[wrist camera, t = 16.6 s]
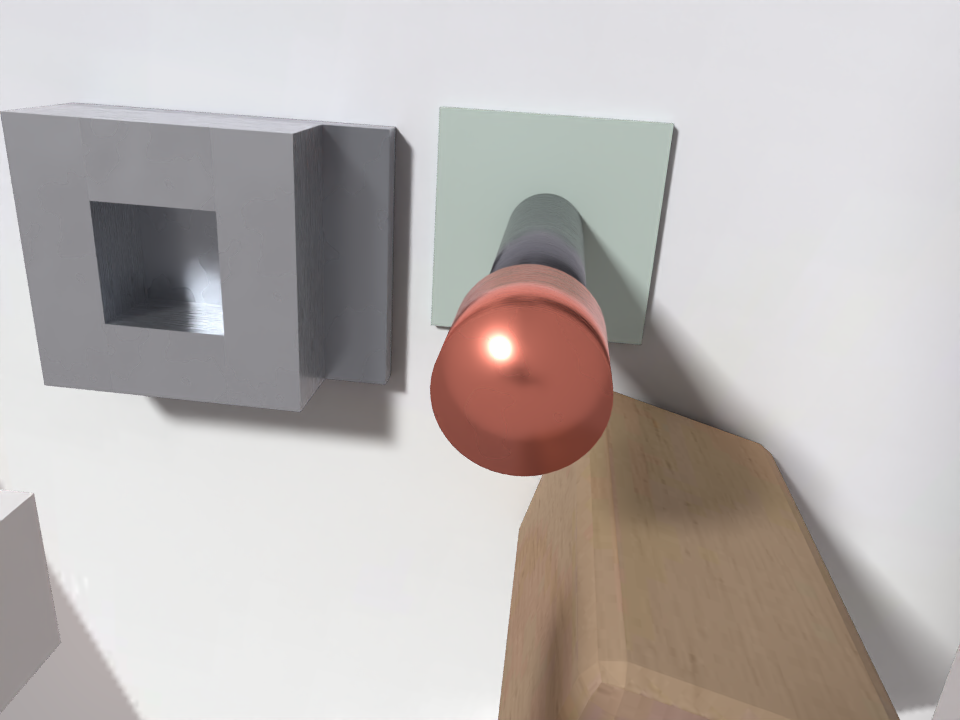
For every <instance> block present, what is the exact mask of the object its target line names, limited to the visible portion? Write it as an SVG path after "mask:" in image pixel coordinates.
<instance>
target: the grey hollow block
mask: <svg viewBox="0 0 960 720" xmlns="http://www.w3.org/2000/svg"><path fill="white" fill-rule="evenodd" d="M0 114H1V120H2V126H3V132H4V138H5V144H6V151H7V157H8V163H9V169H10V175H11V181H12V188H13V194H14V200H15V206H16V212H17V218H18V225H19V231H20V237H21V243H22V249H23V255H24V262H25V268H26V274H27V280H28V286H29V292H30V299H31V305H32V311H33V317H34V323H35V329H36V336H37V342H38V348H39V354H40V360H41V366H42V373H43V379H44V385H47V386H57V387H66V388H76V389H86V390H95V391H105V392H114V393H124V394H133V395H143V396H152V397H162V398H171V399H181V400H190V401H200V402H210V403H219V404H229V405H238V406H248V407H257V408H267V409H276V410H286V411H295V412H301V411H302V409H303V408H304V407H305V405H306V404H307V403H308V401H309V400H310V398H311V397H312V396H313V394H314V393H315V392H316V390H317V389H318V388H319V386H320V385H321V384H322V382H323V381H324V380H325V379H334V380H344V381H354V382H364V383H374V384H384V385H386V383H387V381H388V379H389V377H390V375H391V333H392V282H393V230H394V179H395V128H396V127H390V126H377V125H364V124H350V123H337V122H324V121H311V120H297V119H284V118H271V117H257V116H244V115H231V114H217V113H204V112H191V111H178V110H164V109H151V108H138V107H124V106H111V105H98V104H85V103H66V104H58V105H49V106H41V107H32V108H24V109H15V110H7V111H0Z"/></svg>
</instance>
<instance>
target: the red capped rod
mask: <svg viewBox="0 0 960 720" xmlns="http://www.w3.org/2000/svg"><path fill="white" fill-rule="evenodd" d="M430 395H431V403H432V409H433V412H434V415H435V418H436V420H437V423H438V425H439V427H440V429H441V430H442V432H443V434H444V435H445V437H446V438H447V439H448V440H449V442H450V443H451V444H452V445H453V446H454V447H455V448H456V449H457V450H458V451H459V452H460V453H461V454H462V455H464V456H465V457H466V458H468V459H469V460H471V461H472V462H474V463H476V464H478V465H479V466H481V467H484V468H486V469H489V470H491V471H494V472H498V473H501V474H507V475H513V476H537V475H542V474H548V473H551V472H554V471H557V470H560V469H562V468H565V467H567V466H569V465H571V464H572V463H574V462H576V461H577V460H579V459H580V458H581V457H583V456H584V455H585V454H586V453H588V452H589V451H590V450H591V448H592V447H593V446H594V445H595V444H596V443H597V441H598V440H599V439H600V437H601V436H602V434H603V432H604V430H605V429H606V427H607V424H608V421H609V419H610V416H611V411H612V407H613V383H612V374H611V366H610V357H609V349H608V340H607V331H606V325H605V320H604V317H603V314H602V311H601V309H600V307H599V305H598V303H597V301H596V299H595V298H594V297H593V295H592V294H591V293H590V291H589V290H588V289H587V288H586V273H585V255H584V236H583V224H582V220H581V217H580V215H579V213H578V211H577V209H576V208H575V207H574V206H573V205H572V204H571V203H570V202H569V201H568V200H566V199H565V198H563V197H561V196H558V195H555V194H549V193H543V194H537V195H533V196H530V197H528V198H527V199H525V200H523V201H522V202H521V203H520V204H519V205H518V206H517V207H516V208H515V209H514V211H513V212H512V214H511V216H510V219H509V222H508V224H507V227H506V230H505V233H504V235H503V238H502V241H501V244H500V247H499V249H498V252H497V255H496V258H495V260H494V263H493V266H492V269H491V271H490V274H489V275H487V276H486V277H484V278H483V279H482V280H480V281H479V282H478V283H477V284H476V285H475V286H474V287H473V288H472V289H471V290H470V291H469V292H468V293H467V295H466V296H465V298H464V299H463V301H462V303H461V304H460V307H459V309H458V311H457V314H456V316H455V318H454V321H453V323H452V325H451V328H450V330H449V332H448V335H447V337H446V339H445V342H444V344H443V346H442V349H441V351H440V353H439V356H438V358H437V360H436V363H435V365H434V368H433V372H432V376H431V385H430Z"/></svg>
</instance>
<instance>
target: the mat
mask: <svg viewBox="0 0 960 720" xmlns="http://www.w3.org/2000/svg"><path fill="white" fill-rule="evenodd" d="M673 127H674V124H673V123H660V122H646V121H633V120H619V119H605V118H591V117H578V116H564V115H550V114H536V113H523V112H509V111H495V110H482V109H468V108H454V107H440V111H439V136H438V162H437V187H436V212H435V237H434V263H433V288H432V313H431V325H435V326H446V327H451V325H452V323H453V321H454V318H455V316H456V314H457V311H458V309H459V307H460V304H461V303H462V301H463V299H464V298H465V296H466V295H467V293H468V292H469V291H470V290H471V289H472V288H473V287H474V286H475V285H476V284H477V283H478V282H479V281H480V280H482V279H483V278H484V277H486V276H487V275H489V274H490V271H491V269H492V266H493V263H494V260H495V258H496V255H497V252H498V249H499V247H500V244H501V241H502V238H503V235H504V233H505V230H506V227H507V224H508V222H509V219H510V216H511V214H512V212H513V211H514V209H515V208H516V207H517V206H518V205H519V204H520V203H521V202H522V201H523V200H525V199H527V198H528V197H530V196H533V195H537V194H543V193H549V194H555V195H558V196H561V197H563V198H565V199H566V200H568V201H569V202H570V203H571V204H572V205H573V206H574V207H575V208H576V209H577V211H578V213H579V215H580V217H581V220H582V224H583V236H584V255H585V273H586V288H587V289H588V290H589V291H590V293H591V294H592V295H593V297H594V298H595V299H596V301H597V303H598V305H599V307H600V309H601V311H602V314H603V317H604V320H605V325H606V331H607V340H608V342H614V343H625V344H636V345H641V343H642V336H643V330H644V323H645V316H646V309H647V303H648V296H649V289H650V282H651V276H652V269H653V262H654V255H655V249H656V242H657V235H658V228H659V222H660V215H661V208H662V201H663V195H664V188H665V181H666V174H667V168H668V161H669V154H670V147H671V141H672V134H673Z"/></svg>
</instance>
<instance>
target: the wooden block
mask: <svg viewBox="0 0 960 720" xmlns="http://www.w3.org/2000/svg"><path fill="white" fill-rule="evenodd" d="M498 720H900V719H899V717H898V715H897V713H896V711H895V709H894V707H893V705H892V702H891V700H890V698H889V696H888V694H887V692H886V690H885V688H884V686H883V684H882V682H881V680H880V678H879V676H878V674H877V671H876V669H875V667H874V665H873V663H872V661H871V659H870V657H869V655H868V653H867V651H866V649H865V647H864V645H863V643H862V640H861V638H860V636H859V634H858V632H857V630H856V628H855V626H854V624H853V622H852V620H851V618H850V616H849V614H848V611H847V609H846V607H845V605H844V603H843V601H842V599H841V597H840V595H839V593H838V591H837V589H836V587H835V585H834V583H833V580H832V578H831V576H830V574H829V572H828V570H827V568H826V566H825V564H824V562H823V560H822V558H821V556H820V554H819V552H818V549H817V547H816V545H815V543H814V541H813V539H812V537H811V535H810V533H809V531H808V529H807V527H806V525H805V523H804V521H803V518H802V516H801V514H800V512H799V510H798V508H797V506H796V504H795V502H794V500H793V498H792V496H791V494H790V492H789V489H788V487H787V485H786V483H785V481H784V479H783V477H782V475H781V473H780V471H779V469H778V467H777V465H776V463H775V461H774V458H773V456H772V454H771V453H770V452H769V451H767V450H766V449H765V448H764V447H763V446H762V445H761V444H759V443H756V442H753V441H750V440H748V439H745V438H742V437H739V436H736V435H734V434H731V433H728V432H725V431H723V430H720V429H717V428H714V427H711V426H709V425H706V424H703V423H700V422H697V421H695V420H692V419H689V418H686V417H684V416H681V415H678V414H675V413H672V412H670V411H667V410H664V409H661V408H658V407H656V406H653V405H650V404H647V403H645V402H642V401H639V400H636V399H633V398H631V397H628V396H625V395H622V394H620V393H617V392H614V391H613V407H612V411H611V416H610V419H609V421H608V424H607V427H606V429H605V430H604V432H603V434H602V436H601V437H600V439H599V440H598V441H597V443H596V444H595V445H594V446H593V447H592V448H591V450H590V451H589V452H588V453H586V454H585V455H584V456H583V457H581V458H580V459H579V460H577V461H576V462H574V463H572V464H571V465H569V466H567V467H565V468H562V469H560V470H557V471H554V472H551V473H548V474H543V475H542V478H541V480H540V482H539V485H538V487H537V489H536V492H535V494H534V496H533V498H532V501H531V503H530V505H529V508H528V510H527V512H526V515H525V517H524V519H523V522H522V524H521V526H520V528H519V535H518V544H517V553H516V563H515V572H514V581H513V590H512V599H511V608H510V617H509V626H508V635H507V644H506V653H505V662H504V671H503V680H502V689H501V698H500V707H499V716H498Z"/></svg>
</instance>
